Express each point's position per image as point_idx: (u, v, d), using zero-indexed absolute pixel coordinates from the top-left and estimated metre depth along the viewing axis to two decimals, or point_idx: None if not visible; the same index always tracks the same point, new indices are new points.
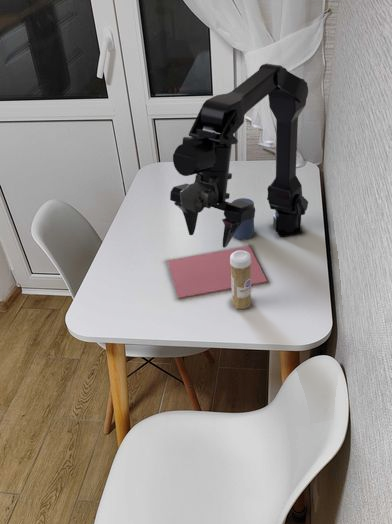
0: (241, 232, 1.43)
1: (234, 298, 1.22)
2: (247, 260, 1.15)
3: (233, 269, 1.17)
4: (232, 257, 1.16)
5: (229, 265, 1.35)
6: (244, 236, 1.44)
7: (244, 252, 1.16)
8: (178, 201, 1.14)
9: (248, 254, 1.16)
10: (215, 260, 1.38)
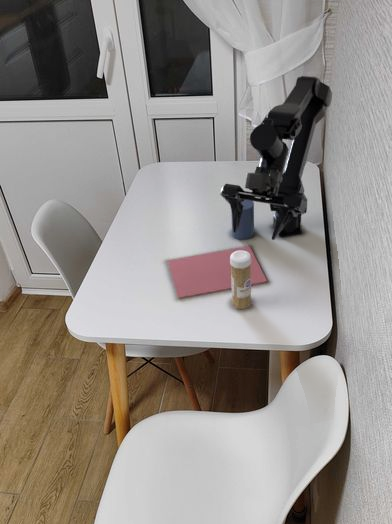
0: (241, 232, 1.43)
1: (234, 298, 1.22)
2: (247, 260, 1.15)
3: (233, 269, 1.17)
4: (232, 257, 1.16)
5: (229, 265, 1.35)
6: (244, 236, 1.44)
7: (244, 252, 1.16)
8: (231, 194, 1.20)
9: (248, 254, 1.16)
10: (215, 260, 1.38)
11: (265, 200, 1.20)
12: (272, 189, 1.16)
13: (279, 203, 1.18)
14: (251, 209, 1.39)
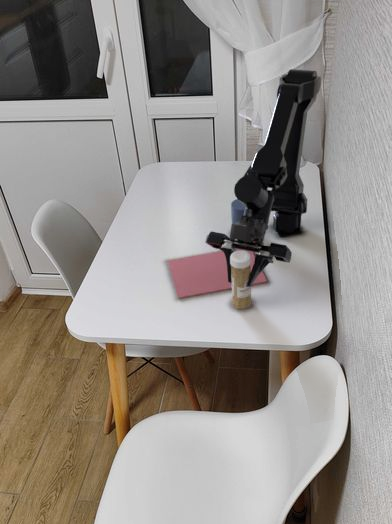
0: None
1: (234, 298, 1.22)
2: (247, 260, 1.15)
3: (233, 269, 1.17)
4: (232, 257, 1.16)
5: None
6: None
7: (244, 252, 1.16)
8: (216, 242, 1.19)
9: (248, 254, 1.16)
10: (215, 260, 1.38)
11: (241, 247, 1.19)
12: (257, 239, 1.15)
13: None
14: None
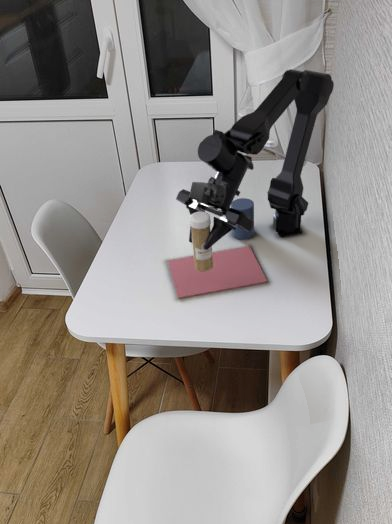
0: (241, 232, 1.43)
1: (194, 259, 1.23)
2: (203, 221, 1.15)
3: (191, 229, 1.17)
4: (191, 216, 1.16)
5: (229, 265, 1.35)
6: (244, 236, 1.44)
7: (205, 214, 1.16)
8: (184, 200, 1.20)
9: (207, 216, 1.16)
10: (215, 260, 1.38)
11: (207, 209, 1.19)
12: (218, 202, 1.14)
13: (226, 217, 1.16)
14: (251, 209, 1.39)
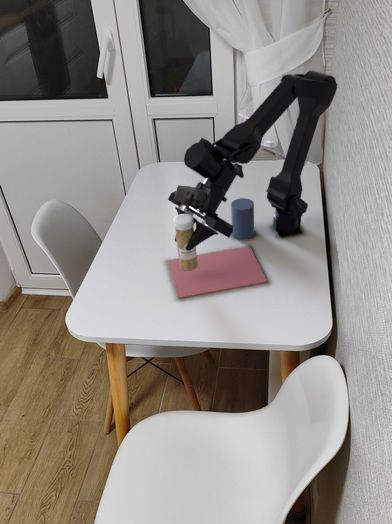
0: (241, 232, 1.43)
1: (179, 258, 1.29)
2: (185, 223, 1.20)
3: None
4: (176, 217, 1.22)
5: (229, 265, 1.35)
6: (244, 236, 1.44)
7: (189, 216, 1.22)
8: (174, 201, 1.26)
9: (190, 219, 1.21)
10: (215, 260, 1.38)
11: (194, 212, 1.25)
12: (201, 206, 1.20)
13: None
14: (251, 209, 1.39)
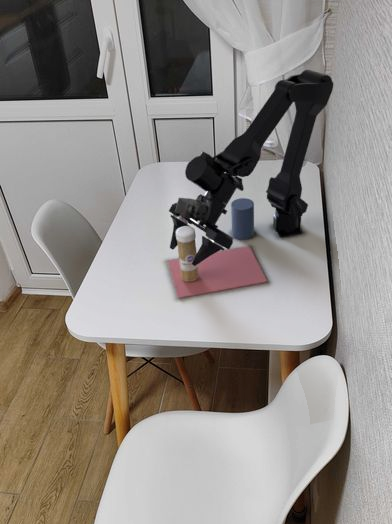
0: (241, 232, 1.43)
1: None
2: (187, 236, 1.23)
3: (177, 241, 1.26)
4: (178, 229, 1.24)
5: (229, 265, 1.35)
6: (244, 236, 1.44)
7: (190, 229, 1.24)
8: (174, 213, 1.28)
9: (192, 231, 1.23)
10: (215, 260, 1.38)
11: (200, 227, 1.25)
12: (202, 218, 1.22)
13: None
14: (251, 209, 1.39)
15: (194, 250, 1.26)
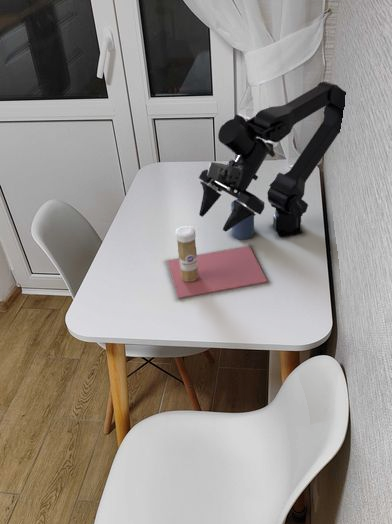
0: (241, 232, 1.43)
1: None
2: (187, 236, 1.23)
3: (177, 241, 1.26)
4: (178, 229, 1.24)
5: (229, 265, 1.35)
6: (244, 236, 1.44)
7: (190, 229, 1.24)
8: (205, 179, 1.28)
9: (192, 231, 1.23)
10: (215, 260, 1.38)
11: (231, 193, 1.25)
12: (233, 183, 1.22)
13: None
14: None
15: (194, 250, 1.26)
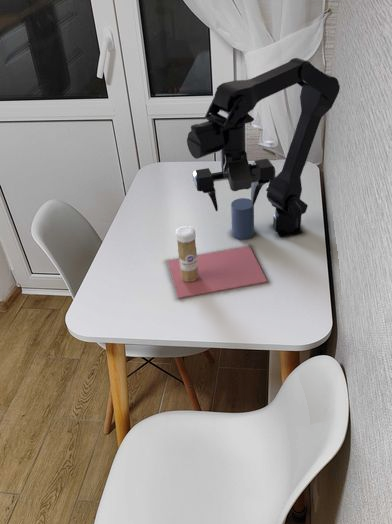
0: (241, 232, 1.43)
1: None
2: (187, 236, 1.23)
3: (177, 241, 1.26)
4: (178, 229, 1.24)
5: (229, 265, 1.35)
6: (244, 236, 1.44)
7: (191, 229, 1.24)
8: (210, 188, 1.23)
9: (192, 231, 1.23)
10: (215, 260, 1.38)
11: None
12: None
13: None
14: (251, 209, 1.39)
15: (194, 250, 1.26)
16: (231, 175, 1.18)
